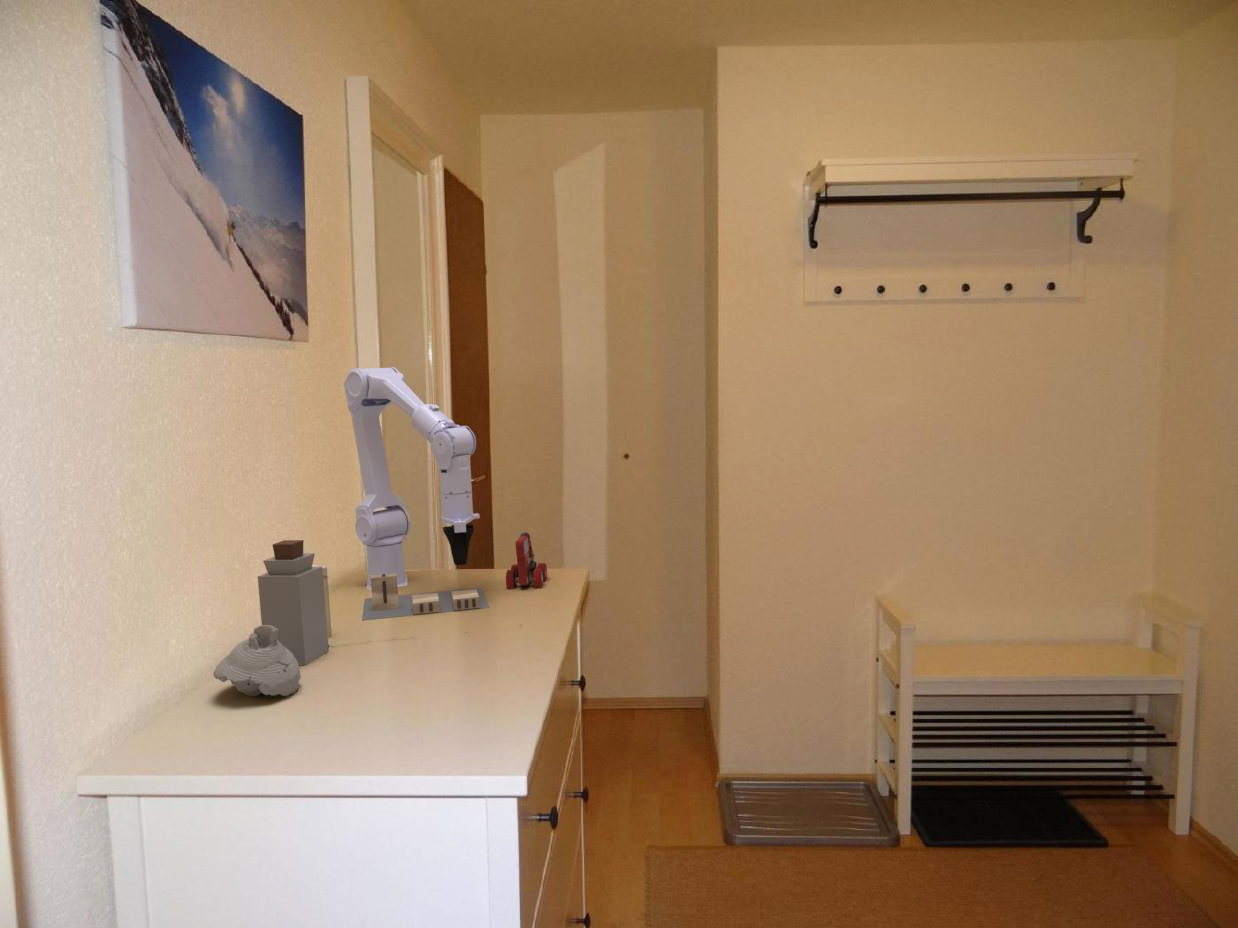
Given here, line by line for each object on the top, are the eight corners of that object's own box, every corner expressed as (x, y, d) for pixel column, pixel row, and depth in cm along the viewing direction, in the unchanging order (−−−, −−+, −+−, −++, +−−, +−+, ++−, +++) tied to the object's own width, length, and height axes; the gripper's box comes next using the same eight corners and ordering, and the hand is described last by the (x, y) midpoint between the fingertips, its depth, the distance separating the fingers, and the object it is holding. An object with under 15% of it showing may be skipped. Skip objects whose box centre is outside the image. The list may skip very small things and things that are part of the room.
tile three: (451, 591, 168) (453, 599, 162) (476, 589, 169) (479, 596, 163) (452, 602, 168) (454, 611, 162) (476, 600, 169) (479, 608, 163)
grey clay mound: (320, 701, 129) (329, 633, 126) (247, 730, 119) (255, 657, 117) (267, 665, 135) (274, 600, 132) (192, 691, 125) (199, 621, 123)
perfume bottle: (305, 665, 137) (296, 546, 135) (265, 664, 139) (255, 546, 137) (328, 651, 144) (319, 537, 142) (289, 650, 145) (280, 538, 143)
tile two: (412, 595, 166) (412, 603, 160) (437, 592, 167) (438, 600, 161) (412, 606, 166) (413, 615, 160) (438, 604, 167) (439, 612, 161)
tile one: (373, 607, 167) (370, 574, 166) (398, 605, 168) (396, 572, 167) (373, 610, 165) (370, 577, 164) (398, 608, 166) (396, 574, 165)
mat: (365, 601, 174) (364, 598, 174) (481, 590, 179) (481, 587, 179) (361, 623, 159) (361, 620, 159) (489, 610, 164) (489, 607, 164)
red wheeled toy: (549, 578, 187) (546, 528, 186) (540, 593, 175) (537, 540, 174) (515, 579, 188) (512, 529, 186) (504, 594, 175) (501, 541, 174)
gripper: (481, 496, 164) (485, 570, 166) (475, 485, 178) (478, 554, 180) (441, 498, 163) (445, 573, 164) (438, 488, 177) (442, 557, 178)
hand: (460, 564), depth 172 cm, fingers closed
